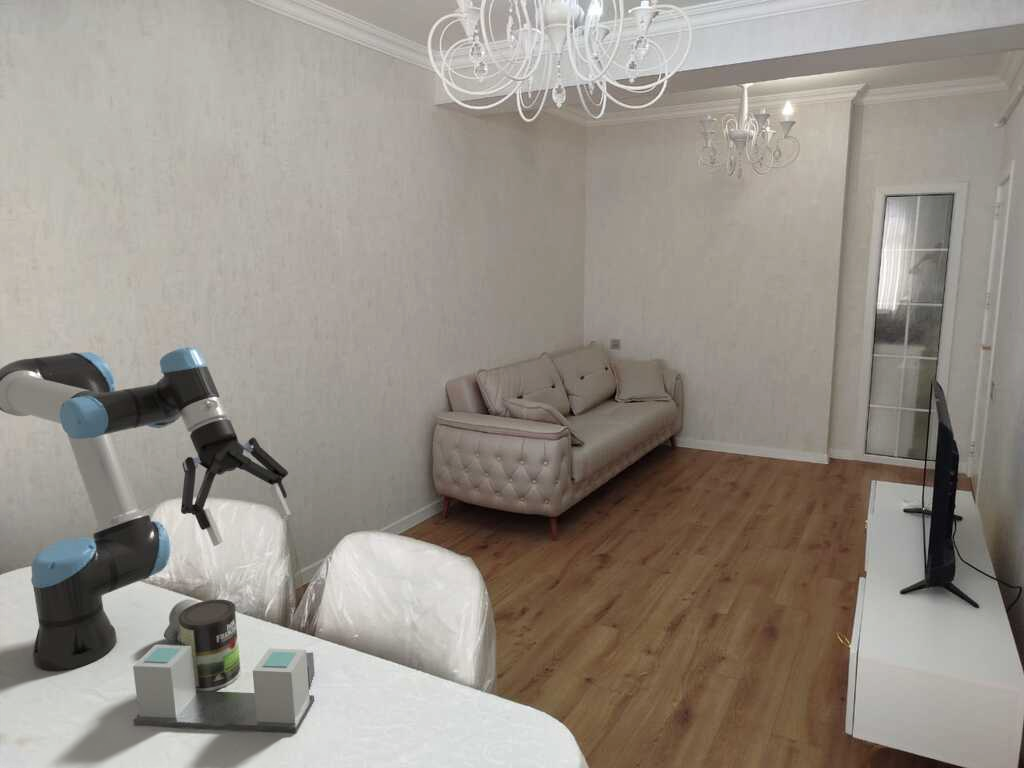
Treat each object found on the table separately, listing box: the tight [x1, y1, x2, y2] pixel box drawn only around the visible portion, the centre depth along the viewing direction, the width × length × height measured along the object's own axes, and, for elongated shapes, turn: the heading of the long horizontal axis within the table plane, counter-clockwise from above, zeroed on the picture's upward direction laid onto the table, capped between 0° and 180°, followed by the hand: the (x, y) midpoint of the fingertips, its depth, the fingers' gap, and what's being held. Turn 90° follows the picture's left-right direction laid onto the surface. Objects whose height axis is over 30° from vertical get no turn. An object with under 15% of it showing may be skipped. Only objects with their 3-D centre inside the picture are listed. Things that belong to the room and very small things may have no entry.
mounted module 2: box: [252, 648, 310, 723], centre depth 129 cm, size 7×7×10 cm
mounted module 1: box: [132, 644, 196, 718], centre depth 131 cm, size 7×7×10 cm
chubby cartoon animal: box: [163, 599, 199, 643], centre depth 158 cm, size 7×12×8 cm, turn 158°
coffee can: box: [179, 598, 242, 691], centre depth 141 cm, size 10×10×14 cm
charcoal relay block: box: [306, 651, 316, 690], centre depth 140 cm, size 5×5×5 cm
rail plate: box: [132, 690, 315, 734], centre depth 131 cm, size 30×9×1 cm, turn 85°
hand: (253, 529), depth 131 cm, fingers open, 13 cm apart
